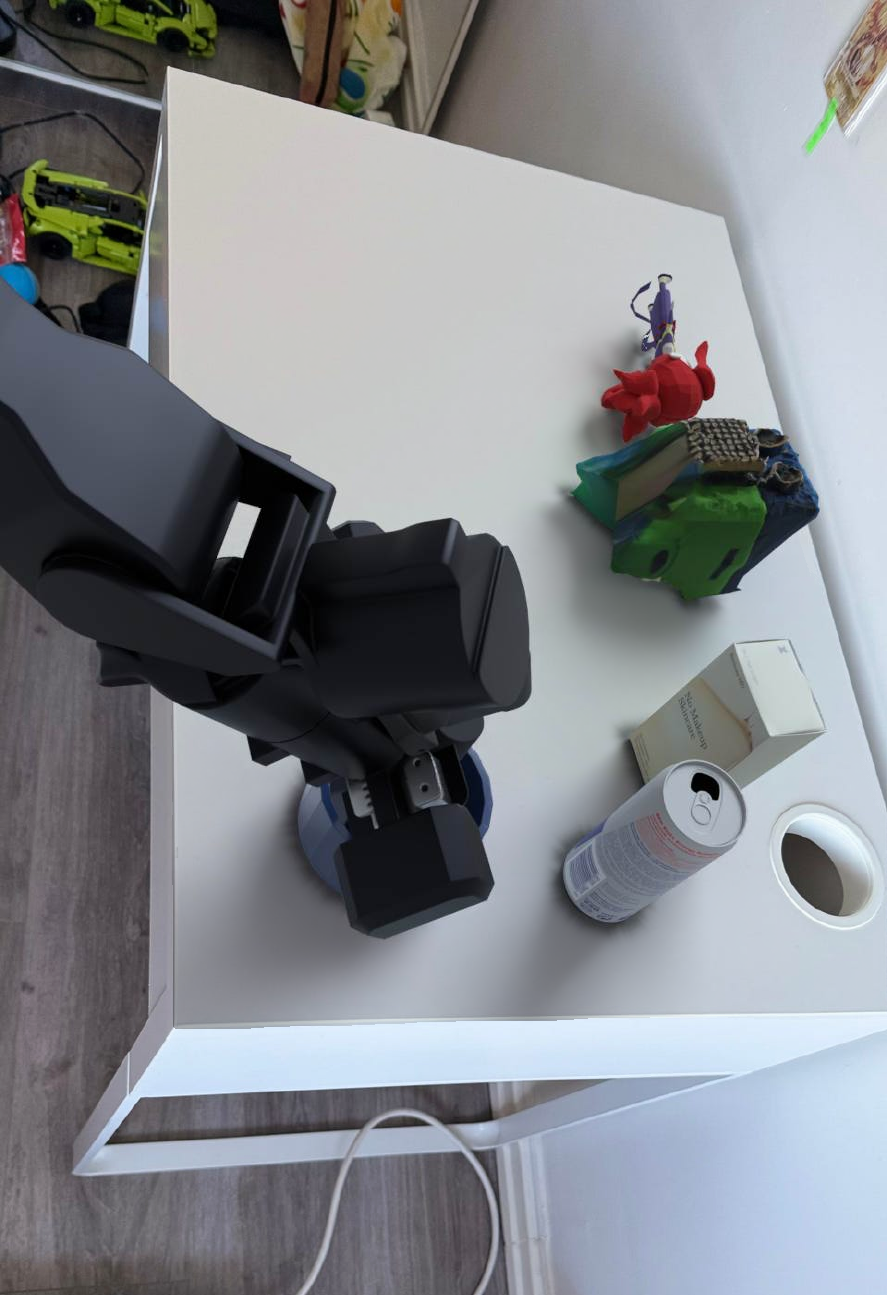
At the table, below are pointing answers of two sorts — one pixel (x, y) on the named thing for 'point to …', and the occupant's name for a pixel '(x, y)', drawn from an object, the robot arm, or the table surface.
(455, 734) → the scrub stick
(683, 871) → the energy drink
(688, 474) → the sculpture
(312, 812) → the blue plastic pot
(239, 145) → the table surface
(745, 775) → the cosmetic box
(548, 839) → the table surface
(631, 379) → the figurine
